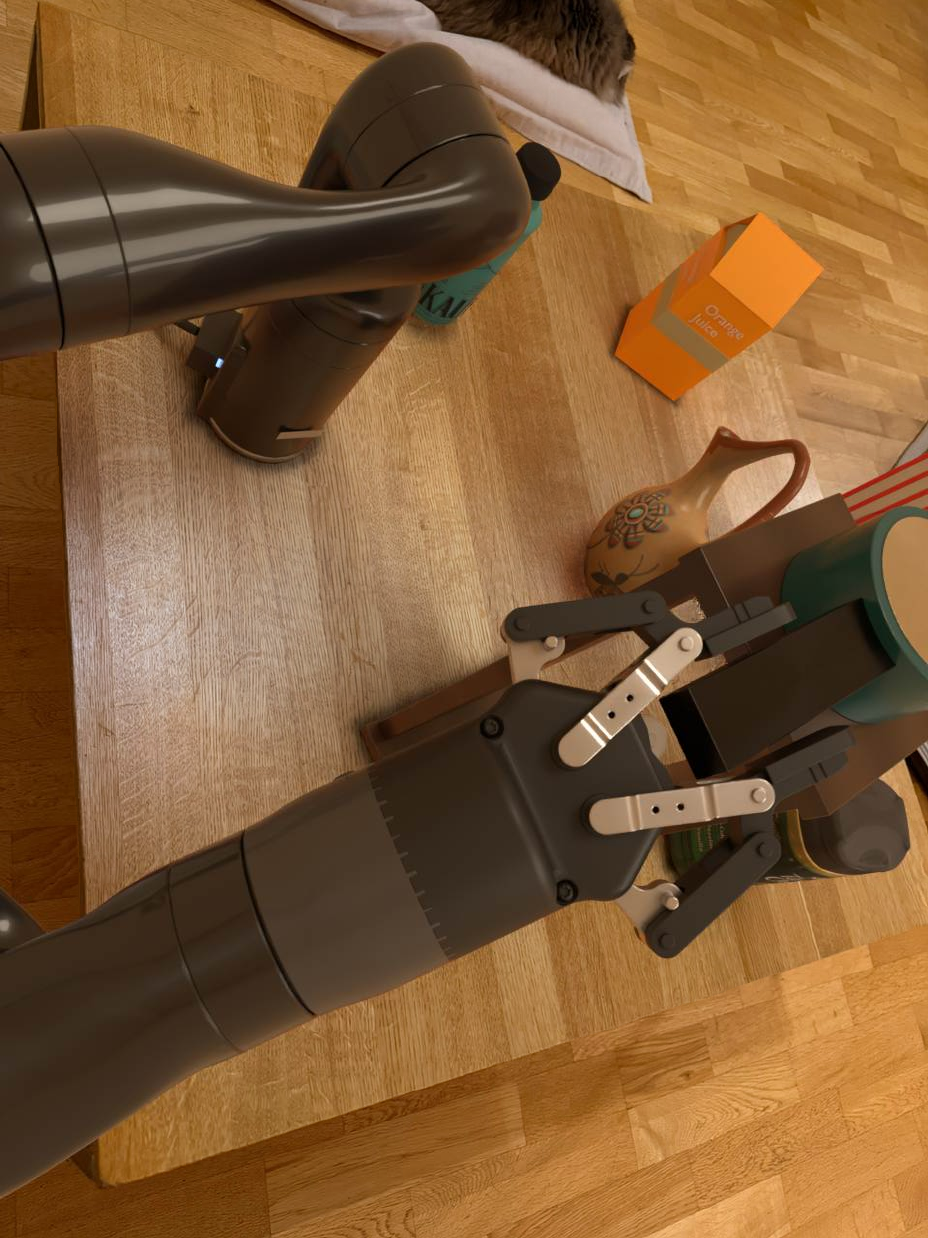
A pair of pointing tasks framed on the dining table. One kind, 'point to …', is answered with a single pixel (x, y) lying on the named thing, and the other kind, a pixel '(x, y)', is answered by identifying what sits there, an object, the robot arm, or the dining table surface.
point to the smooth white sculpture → (656, 735)
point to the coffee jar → (820, 840)
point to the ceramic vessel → (678, 515)
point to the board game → (891, 491)
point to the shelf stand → (717, 584)
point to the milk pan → (822, 648)
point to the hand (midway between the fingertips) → (812, 672)
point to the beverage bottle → (457, 292)
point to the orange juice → (715, 304)
